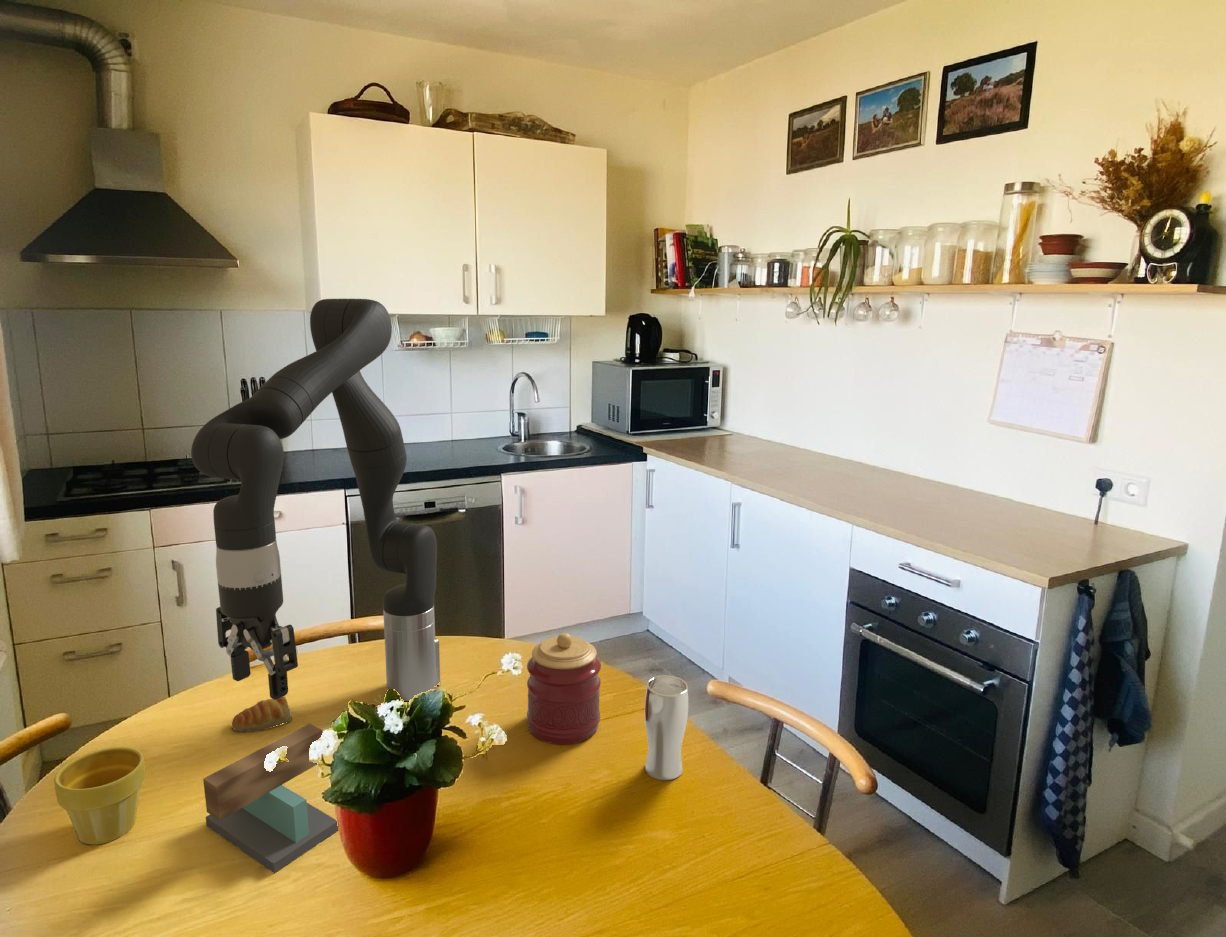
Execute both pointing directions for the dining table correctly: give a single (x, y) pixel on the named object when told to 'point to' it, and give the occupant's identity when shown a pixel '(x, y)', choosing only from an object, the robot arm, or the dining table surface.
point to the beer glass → (665, 725)
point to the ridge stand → (275, 828)
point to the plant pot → (101, 792)
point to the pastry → (262, 715)
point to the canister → (563, 690)
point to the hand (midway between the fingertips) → (260, 687)
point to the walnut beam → (258, 773)
